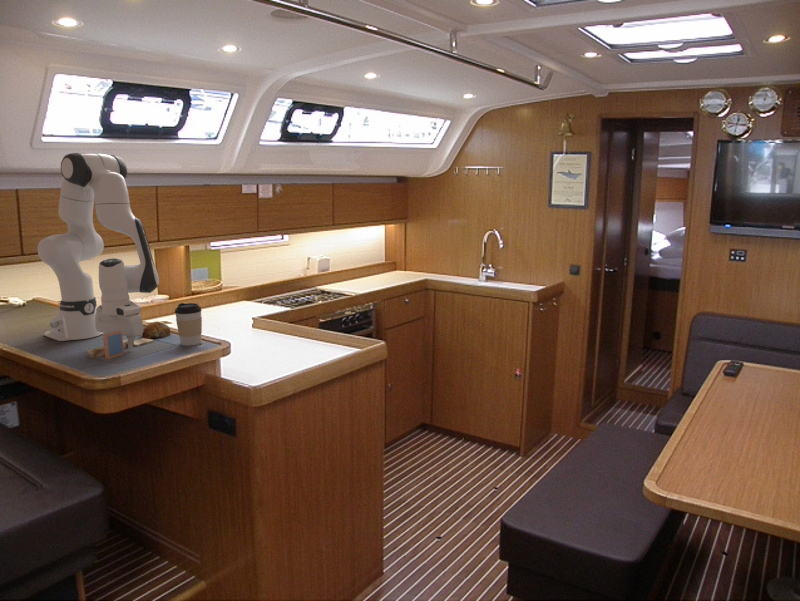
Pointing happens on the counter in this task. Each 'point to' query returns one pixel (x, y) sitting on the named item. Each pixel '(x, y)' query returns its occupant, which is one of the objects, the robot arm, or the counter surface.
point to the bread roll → (156, 330)
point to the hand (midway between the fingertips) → (120, 346)
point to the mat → (137, 352)
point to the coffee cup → (189, 323)
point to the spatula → (139, 342)
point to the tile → (113, 344)
